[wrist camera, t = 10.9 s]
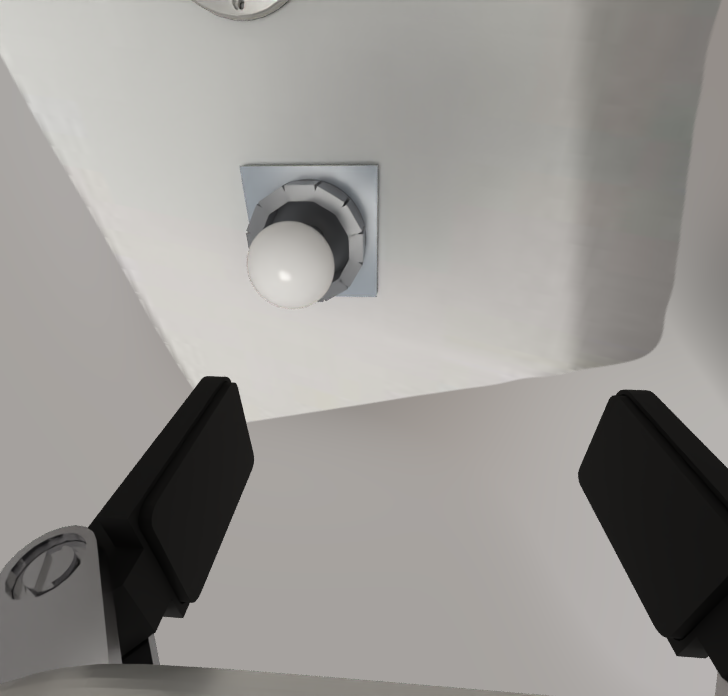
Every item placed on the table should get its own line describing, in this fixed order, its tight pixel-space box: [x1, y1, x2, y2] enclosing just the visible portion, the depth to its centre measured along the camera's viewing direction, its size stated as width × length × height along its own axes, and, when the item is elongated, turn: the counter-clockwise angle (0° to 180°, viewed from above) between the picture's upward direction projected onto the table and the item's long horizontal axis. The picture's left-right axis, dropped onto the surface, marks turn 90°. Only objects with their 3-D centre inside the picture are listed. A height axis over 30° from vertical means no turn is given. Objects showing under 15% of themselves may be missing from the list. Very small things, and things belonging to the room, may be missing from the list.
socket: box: [240, 165, 378, 302], centre depth 33 cm, size 12×12×5 cm
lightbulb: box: [247, 221, 335, 309], centre depth 29 cm, size 6×6×11 cm
